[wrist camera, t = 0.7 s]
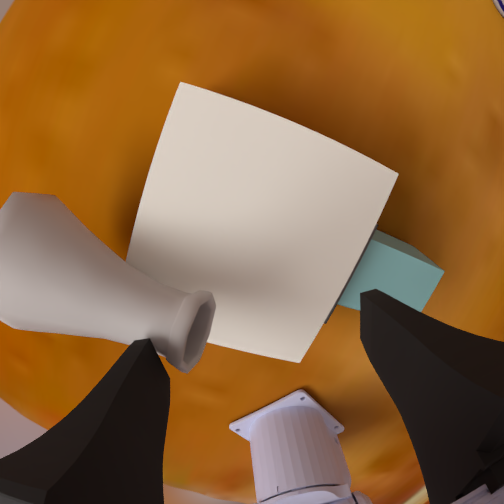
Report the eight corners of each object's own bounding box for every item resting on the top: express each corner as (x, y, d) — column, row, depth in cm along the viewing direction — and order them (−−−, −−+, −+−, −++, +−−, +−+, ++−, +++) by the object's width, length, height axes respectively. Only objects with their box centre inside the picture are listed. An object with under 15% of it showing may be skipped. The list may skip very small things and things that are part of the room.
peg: (413, 246, 20) (444, 271, 17) (387, 293, 22) (412, 324, 18) (317, 204, 19) (340, 226, 15) (291, 262, 20) (306, 295, 16)
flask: (6, 164, 10) (205, 205, 8) (87, 216, 17) (243, 261, 15) (-42, 319, 9) (132, 450, 7) (52, 329, 16) (200, 400, 14)
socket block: (358, 160, 18) (405, 177, 13) (287, 310, 22) (305, 364, 17) (193, 94, 16) (180, 81, 11) (139, 266, 19) (115, 314, 14)
